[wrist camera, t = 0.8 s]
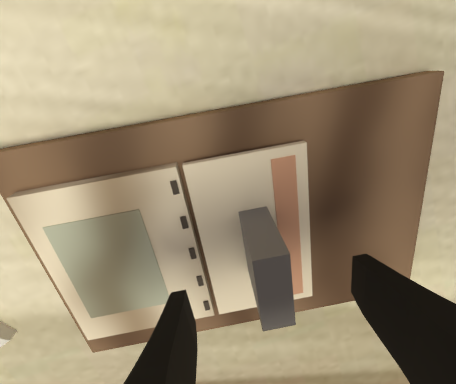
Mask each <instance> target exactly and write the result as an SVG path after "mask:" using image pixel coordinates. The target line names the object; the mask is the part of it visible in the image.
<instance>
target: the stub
mask: <svg viewBox="0 0 456 384" xmlns="http://www.w3.org/2000/svg"><path fill="white" fill-rule="evenodd" d="M182 166H183V170H184V174H185V178H186V183H187V187H188V191H189V195H190V199H191V203H192V207H193V211H194V215H195V219H196V223H197V227H198V231H199V235H200V239H201V243H202V247H203V251H204V255H205V259H206V263H207V267H208V271H209V275H210V279H211V283H212V287H213V291H214V295H215V300H216V304H217V308H218V312H219V314H224V313H229V312H234V311H239V310H244V309H249V308H254V307H257V309H258V313H259V317H260V321H261V325H262V329H263V331H267V330H272V329H277V328H282V327H287V326H292V325H296V322H295V309H294V300H295V299H300V298H305V297H310V296H312V269H311V243H310V217H309V190H308V164H307V142H305V141H299V142H293V143H288V144H282V145H277V146H272V147H266V148H261V149H256V150H250V151H245V152H239V153H234V154H229V155H223V156H218V157H213V158H207V159H202V160H196V161H191V162H186V163H183V165H182Z"/></svg>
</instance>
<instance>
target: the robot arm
mask: <svg viewBox="0 0 456 384" xmlns="http://www.w3.org/2000/svg"><path fill="white" fill-rule="evenodd" d="M351 293H352V295H353V297H354V299H355V301H356V303H357V305H358V306H359V308H360V310H361V312H362V314H363V315H364V317H365V318H366V320H367V321H368V323H369V324H370V325H371V327H372V328H373V330H374V331H375V333H376V334H377V336H378V337H379V338H380V340H381V341H382V343H383V344H384V345H385V347H386V348H387V350H388V351H389V353H390V354H391V355H392V357H393V358H394V360H395V361H396V363H397V364H398V365H399V367H400V368H401V370H402V371H403V373H404V375H405V376H406V378H407V379H408V381H409V382H410V384H456V304H455V303H453V302H451V301H449V300H447V299H445V298H443V297H441V296H439V295H437V294H436V293H434V292H432V291H430V290H428V289H426V288H424V287H423V286H421V285H419V284H417V283H416V282H414V281H412V280H410V279H409V278H407V277H405V276H403V275H402V274H400V273H398V272H397V271H395V270H393V269H392V268H390V267H388V266H387V265H385V264H383V263H382V262H380V261H378V260H377V259H375V258H373V257H372V256H370V255H368V254H361V255H356V256H352V278H351ZM196 366H197V330H196V321H195V318H194V315H193V311H192V308H191V305H190V302H189V298H188V295H187V292H186V290H181V291H176V292H171V294H170V295H169V298H168V300H167V302H166V305H165V307H164V309H163V312H162V314H161V316H160V318H159V320H158V322H157V325H156V327H155V329H154V331H153V333H152V335H151V337H150V339H149V341H148V342H147V344H146V346H145V348H144V350H143V352H142V353H141V355H140V357H139V359H138V361H137V362H136V364H135V366H134V368H133V369H132V371H131V372H130V374H129V376H128V377H127V379H126V381H125V382H124V384H195V383H196Z"/></svg>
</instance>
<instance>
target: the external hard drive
mask: <svg viewBox="0 0 456 384" xmlns="http://www.w3.org/2000/svg"><path fill="white" fill-rule="evenodd" d="M16 332H17V330H15V329H13V328H12V327H10V326H8V325H6V324H5V323H3V322H1V321H0V347H2V346H3V345H5V344H6V343H7V342H9V341H10V340H11V339H12V337H13V336H14V335H15V333H16Z"/></svg>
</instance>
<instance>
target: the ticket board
mask: <svg viewBox="0 0 456 384" xmlns="http://www.w3.org/2000/svg"><path fill="white" fill-rule="evenodd" d="M443 76H444V71H425V72H420V73H414V74H409V75H403V76H398V77H392V78H387V79H381V80H376V81H370V82H365V83H359V84H354V85H348V86H343V87H337V88H332V89H326V90H321V91H315V92H310V93H304V94H299V95H293V96H288V97H283V98H277V99H272V100H266V101H261V102H255V103H250V104H244V105H239V106H233V107H228V108H222V109H217V110H211V111H206V112H200V113H195V114H189V115H184V116H178V117H173V118H167V119H162V120H156V121H151V122H145V123H140V124H135V125H129V126H124V127H118V128H113V129H107V130H102V131H96V132H91V133H85V134H80V135H74V136H69V137H63V138H58V139H52V140H47V141H41V142H36V143H30V144H25V145H19V146H14V147H8V148H3V149H0V194H1V195H2V197H3V199H4V200H5V202H6V204H7V206H8V207H9V209H10V211H11V213H12V214H13V216H14V218H15V219H16V221H17V223H18V225H19V226H20V228H21V230H22V232H23V233H24V235H25V237H26V238H27V240H28V242H29V244H30V245H31V247H32V249H33V250H34V252H35V254H36V256H37V257H38V259H39V261H40V263H41V264H42V266H43V268H44V269H45V271H46V273H47V275H48V276H49V278H50V280H51V281H52V283H53V285H54V287H55V288H56V290H57V292H58V294H59V295H60V297H61V299H62V300H63V302H64V304H65V306H66V307H67V309H68V311H69V313H70V314H71V316H72V318H73V319H74V321H75V323H76V325H77V326H78V328H79V330H80V331H81V333H82V335H83V337H84V338H85V340H86V342H87V344H88V345H89V347H90V349H91V350H92V352H98V351H104V350H109V349H114V348H119V347H124V346H129V345H134V344H139V343H144V342H148V341H149V339H150V337H151V335H152V333H153V331H154V329H155V327H156V325H157V322H158V320H159V318H160V316H161V314H162V312H163V309H164V307H165V305H166V302H167V300H168V298H169V295H170V294H171V292H176V291H181V290H186V292H187V295H188V298H189V302H190V305H191V308H192V311H193V315H194V318H195V321H196V330H197V332H199V331H204V330H209V329H214V328H219V327H224V326H229V325H234V324H239V323H244V322H249V321H254V320H259V319H260V317H259V313H258V309H257V307H254V308H249V309H244V310H239V311H234V312H229V313H224V314H219V312H218V308H217V304H216V300H215V295H214V291H213V287H212V283H211V279H210V275H209V271H208V267H207V263H206V259H205V255H204V251H203V247H202V243H201V239H200V235H199V231H198V227H197V223H196V219H195V215H194V211H193V207H192V203H191V199H190V195H189V191H188V187H187V183H186V178H185V174H184V170H183V166H182V165H183V163H186V162H191V161H196V160H202V159H207V158H213V157H218V156H223V155H229V154H234V153H239V152H245V151H250V150H256V149H261V148H266V147H272V146H277V145H282V144H288V143H293V142H299V141H305V142H307V164H308V190H309V217H310V243H311V269H312V296H310V297H305V298H300V299H295V300H294V309H295V312H299V311H304V310H309V309H314V308H319V307H324V306H329V305H334V304H339V303H344V302H349V301H355V299H354V297H353V295H352V293H351V278H352V256H356V255H361V254H368V255H370V256H372V257H373V258H375V259H377V260H378V261H380V262H382V263H383V264H385V265H387V266H388V267H390V268H392V269H393V270H395V271H397V272H398V273H400V274H402V275H403V276H405V277H407V278H409V279H410V275H411V269H412V263H413V257H414V251H415V245H416V239H417V233H418V227H419V221H420V215H421V209H422V203H423V197H424V191H425V185H426V178H427V172H428V166H429V160H430V154H431V148H432V142H433V136H434V130H435V124H436V118H437V112H438V106H439V100H440V94H441V88H442V82H443Z"/></svg>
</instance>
